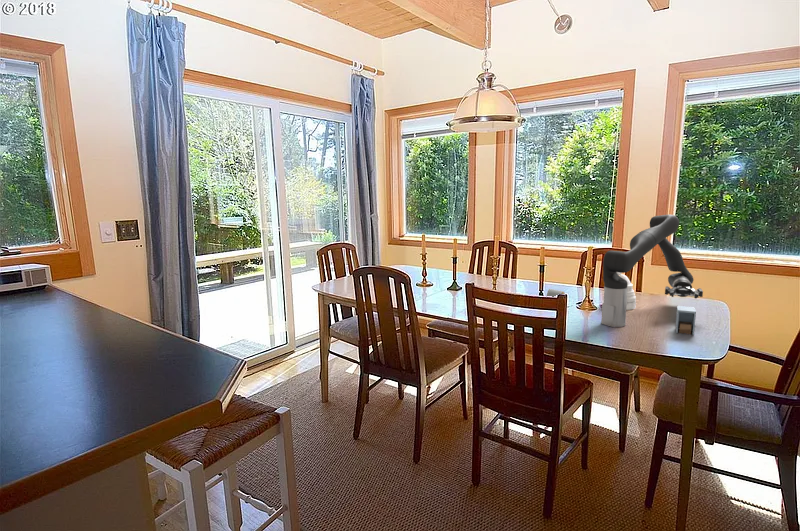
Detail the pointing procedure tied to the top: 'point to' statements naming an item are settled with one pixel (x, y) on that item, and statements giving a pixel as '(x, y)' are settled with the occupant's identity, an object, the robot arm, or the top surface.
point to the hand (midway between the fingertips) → (684, 295)
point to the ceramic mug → (554, 292)
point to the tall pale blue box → (686, 316)
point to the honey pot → (629, 293)
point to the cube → (685, 327)
